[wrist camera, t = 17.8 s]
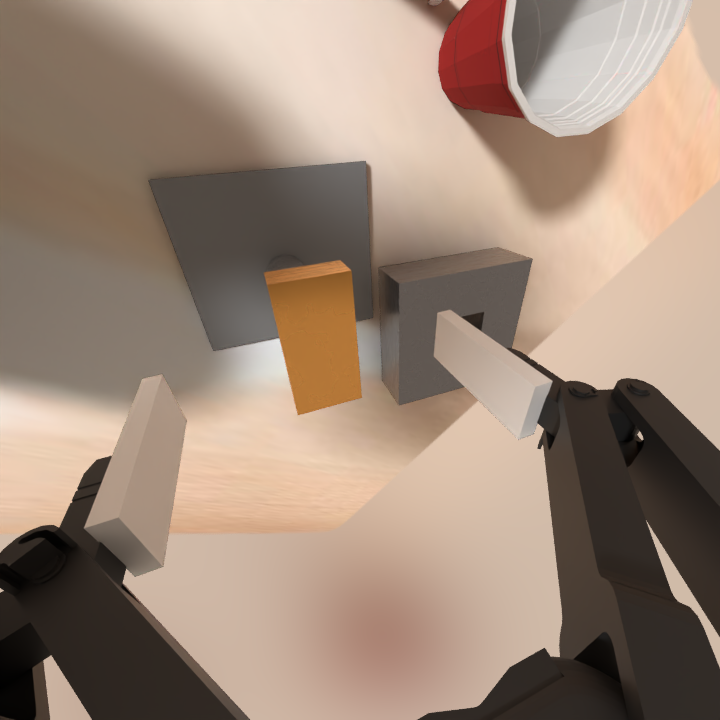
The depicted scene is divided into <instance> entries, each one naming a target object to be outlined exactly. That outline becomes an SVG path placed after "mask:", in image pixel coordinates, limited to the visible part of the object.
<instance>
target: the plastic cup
mask: <svg viewBox="0 0 720 720" xmlns="http://www.w3.org/2000/svg"><path fill="white" fill-rule="evenodd" d="M692 2H693V0H469V1H468V2H467V3H466V4H465V5H464V6H463V7H462V9H461V10H460V11H459V12H458V14H457V15H456V17H455V18H454V20H453V21H452V23H451V24H450V26H449V27H448V29H447V31H446V32H445V35H444V38H443V41H442V45H441V48H440V51H439V67H438V73H439V77H440V81H441V85H442V89H443V90H444V92H445V94H446V95H447V97H448V98H449V100H450V101H452V102H454V103H455V104H457V105H459V106H461V107H463V108H464V109H474V110H480V111H482V112H485V113H492V114H499V115H506V116H513V117H519V118H525V119H526V120H527V121H528V122H530V123H532V124H534V125H535V126H537V127H539V128H541V129H543V130H544V131H546V132H548V133H550V134H552V135H553V136H555V137H563V136H572V135H582V134H589V133H590V132H592V131H594V130H595V129H597V128H599V127H600V126H602V125H604V124H605V123H607V122H609V121H610V120H612V119H614V118H615V117H617V116H619V115H620V114H622V112H623V111H624V110H625V109H626V108H627V107H628V106H629V105H630V104H631V103H632V102H633V100H634V99H635V98H636V97H637V96H638V95H639V94H640V93H641V92H642V91H643V90H644V89H645V87H646V86H647V85H648V84H649V83H650V82H651V81H652V80H653V79H654V77H655V75H656V74H657V72H658V70H659V69H660V67H661V65H662V63H663V62H664V60H665V58H666V57H667V55H668V53H669V52H670V50H671V48H672V46H673V45H674V43H675V41H676V40H677V38H678V36H679V35H680V33H681V31H682V29H683V27H684V24H685V21H686V18H687V15H688V12H689V10H690V7H691V4H692Z"/></svg>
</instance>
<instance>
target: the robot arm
mask: <svg viewBox="0 0 720 720" xmlns="http://www.w3.org/2000/svg"><path fill="white" fill-rule="evenodd" d="M434 357H435V358H436V359H437V360H438V361H439V362H440V363H441V364H442V365H443V366H444V367H445V368H446V369H447V370H448V371H449V372H450V373H451V374H452V375H453V376H454V377H455V378H456V379H457V380H458V381H459V382H460V383H461V384H462V385H463V386H464V387H465V388H466V389H467V390H468V391H469V392H470V393H471V394H472V395H473V396H474V397H475V398H476V399H477V400H478V401H479V402H480V403H482V404H483V405H484V406H485V407H486V408H487V409H488V410H489V411H490V412H491V413H492V414H493V415H494V416H495V417H496V418H497V419H498V420H499V421H500V422H501V423H502V424H503V425H504V426H505V427H506V428H507V429H508V430H509V431H510V432H511V433H512V434H513V435H514V436H515V437H516V438H517V439H518V440H519V439H521V438H524V437H527V436H530V435H532V434H534V432H535V429H536V426H537V423H538V424H539V425H540V426H542V427H543V428H544V431H543V433H542V436H541V439H540V441H539V444H538V449H541V446H542V445H543V446H544V455H545V464H546V473H547V482H548V490H549V500H550V508H551V517H552V526H553V535H554V544H555V552H556V562H557V570H558V579H559V587H560V597H561V605H562V627H561V632H560V644H559V646H560V657H550V655H549V654H548V652H547V651H546V649H545V648H543V649H542V650H540V651H538V652H536V653H535V654H533V655H531V656H529V657H528V658H526V659H524V660H522V661H520V662H519V663H517V664H515V665H513V666H512V667H510V668H509V669H508V670H507V672H506V673H505V674H504V675H503V677H502V678H501V679H500V680H499V682H498V683H497V684H496V686H495V687H494V688H493V689H492V691H491V692H490V693H489V694H488V696H487V697H486V698H485V700H484V701H483V702H482V703H481V704H480V705H479V706H477V707H474V708H467V709H459V710H451V711H443V712H435V713H428V714H427V715H425V716H423V717H421V718H420V719H418V720H720V668H719V665H718V663H717V661H716V658H715V655H714V653H713V650H712V648H711V645H710V643H709V640H708V637H707V635H706V632H705V630H704V628H703V626H702V624H701V622H700V620H699V618H698V616H697V615H696V614H695V613H694V611H693V610H692V609H691V608H690V607H688V606H686V605H684V604H682V603H680V602H678V601H677V600H676V599H675V597H674V596H673V594H672V592H671V590H670V587H669V584H668V581H667V578H666V575H665V572H664V570H663V567H662V564H661V561H660V559H659V556H658V553H657V550H656V547H655V544H654V542H653V539H652V536H651V533H650V530H649V528H648V525H647V522H648V524H649V525H650V527H651V528H652V530H653V532H654V533H655V535H656V536H657V538H658V539H659V541H660V543H661V544H662V546H663V548H664V549H665V551H666V552H667V554H668V555H669V557H670V559H671V560H672V562H673V563H674V565H675V567H676V568H677V570H678V571H679V573H680V575H681V576H682V578H683V579H684V581H685V582H686V584H687V586H688V587H689V589H690V590H691V592H692V594H693V595H694V597H695V598H696V600H697V602H698V603H699V605H700V606H701V608H702V610H703V611H704V613H705V614H706V616H707V618H708V619H709V621H710V622H711V624H712V625H713V627H714V629H715V630H716V632H717V633H718V635H719V636H720V451H719V450H718V449H717V448H716V447H715V446H714V445H713V444H712V443H711V442H710V441H709V440H708V439H707V438H706V437H705V436H704V435H703V434H702V433H701V432H700V431H699V430H698V429H697V428H696V427H695V426H694V425H693V424H692V423H691V422H690V421H689V420H688V419H687V418H686V417H685V416H684V415H683V414H682V413H681V412H680V411H679V410H678V409H677V408H676V407H675V406H674V405H673V404H672V403H671V402H670V401H669V400H668V399H667V398H666V397H665V396H664V395H663V394H662V393H661V392H660V391H659V390H658V389H656V388H655V387H654V386H652V385H650V384H648V383H646V382H644V381H640V380H638V379H630V378H626V379H621V380H619V381H618V382H617V383H616V386H615V387H614V389H612V390H597V389H595V388H594V387H592V386H591V385H588V384H586V383H583V382H578V381H567V382H565V381H563V380H562V379H560V378H559V377H557V376H556V375H554V374H553V373H551V372H550V371H548V370H547V369H546V368H544V367H543V366H541V365H538V364H537V363H536V362H535V361H534V360H532V359H530V358H529V357H528V356H526V355H525V354H523V353H522V352H520V351H517V350H514V349H512V348H504V347H503V346H502V345H500V344H499V343H497V342H496V341H494V340H493V339H492V338H490V337H489V336H487V335H486V334H484V333H483V332H481V331H480V330H479V329H477V328H476V327H474V326H473V325H471V324H470V323H469V322H467V321H466V320H464V319H463V318H461V317H460V316H459V315H457V314H456V313H454V312H453V311H451V310H447V311H442V312H438V313H437V324H436V335H435V347H434ZM186 422H187V420H186V418H185V417H184V415H183V413H182V411H181V409H180V407H179V405H178V403H177V401H176V399H175V397H174V395H173V393H172V391H171V390H170V388H169V386H168V384H167V382H166V380H165V378H164V376H163V374H160V375H156V376H151V377H147V378H142V381H141V383H140V386H139V388H138V391H137V393H136V396H135V399H134V401H133V404H132V406H131V409H130V411H129V414H128V417H127V419H126V422H125V424H124V427H123V429H122V432H121V434H120V437H119V440H118V442H117V445H116V447H115V450H114V452H113V455H112V456H109V457H105V458H102V459H98V460H96V461H95V462H94V463H93V464H92V466H91V467H90V468H89V469H88V470H87V471H86V472H85V473H84V475H83V477H82V479H81V482H80V484H79V486H78V488H77V489H78V491H76V492H75V495H74V497H73V499H72V503H70V506H69V508H68V510H67V512H66V514H65V517H64V519H63V521H62V523H61V525H60V527H59V528H58V527H56V526H54V525H46V526H40V527H38V528H35V529H33V530H30V531H28V532H26V533H25V534H23V535H21V536H20V537H18V538H16V539H15V540H14V541H13V542H12V543H10V544H9V545H8V546H7V547H6V548H4V549H3V551H2V552H1V553H0V588H1V589H3V590H4V591H3V592H1V593H0V720H50V715H49V706H48V697H47V689H46V680H45V672H44V663H43V660H44V659H46V658H47V657H49V656H50V655H52V657H53V658H54V660H55V661H56V663H57V665H58V666H59V668H60V670H61V671H62V673H63V674H64V676H65V677H66V679H67V680H68V682H69V684H70V685H71V687H72V688H73V690H74V692H75V693H76V695H77V696H78V698H79V699H80V701H81V703H82V704H83V706H84V707H85V709H86V711H87V712H88V714H89V715H90V717H91V718H92V720H250V719H249V718H248V717H247V716H246V715H245V714H244V712H242V710H241V709H240V708H239V707H238V706H237V705H236V704H235V703H234V702H233V701H232V700H231V699H230V697H229V696H228V695H227V694H226V693H225V692H224V691H223V690H222V689H221V688H220V687H219V686H218V685H217V683H216V682H215V681H214V680H213V679H212V678H211V677H210V676H209V675H208V674H207V673H206V672H205V671H204V670H203V668H202V667H201V666H200V665H199V664H198V663H197V662H196V661H195V660H194V659H193V658H192V657H191V656H190V654H188V652H187V651H186V650H185V649H184V648H183V647H182V646H181V645H180V644H179V643H178V642H177V641H176V639H175V638H174V637H173V636H172V635H171V634H170V633H169V632H168V631H167V630H166V629H165V628H164V627H163V626H162V624H161V623H160V622H159V621H158V620H157V619H156V618H155V617H154V616H153V615H152V614H151V613H150V611H149V610H148V609H147V608H146V607H145V606H144V605H143V604H142V603H141V602H140V601H139V600H138V599H137V598H136V596H135V595H134V594H133V593H132V592H131V591H130V590H129V589H128V588H127V587H126V586H125V585H124V584H123V579H124V575H125V571H126V569H127V570H129V571H130V572H131V573H132V574H133V575H134V576H135V577H136V576H139V575H141V574H145V573H147V572H150V571H153V570H156V569H158V568H161V567H163V565H164V559H165V553H166V546H167V541H168V534H169V528H170V522H171V516H172V509H173V503H174V497H175V491H176V485H177V478H178V472H179V466H180V460H181V453H182V447H183V441H184V435H185V429H186ZM639 431H640V432H641V434H642V435H643V439H644V440H641V439H640V438H639V437H638V435H637V434H638V432H639ZM646 520H647V522H646Z"/></svg>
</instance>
